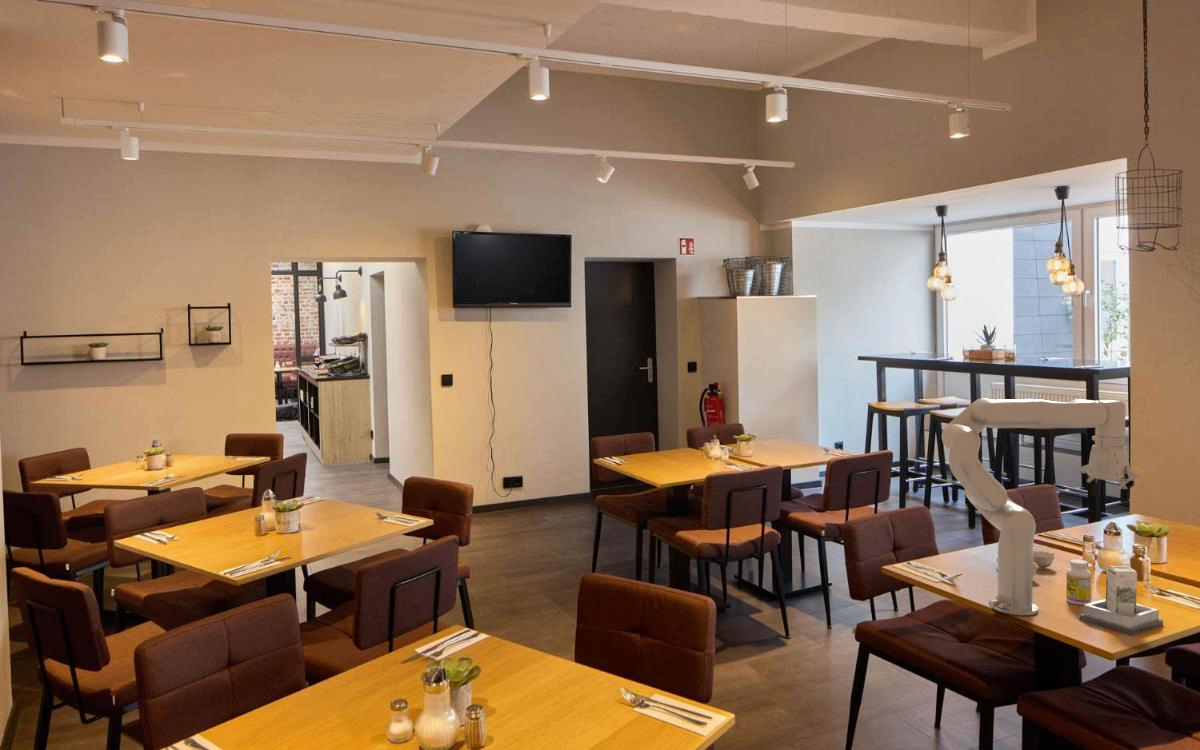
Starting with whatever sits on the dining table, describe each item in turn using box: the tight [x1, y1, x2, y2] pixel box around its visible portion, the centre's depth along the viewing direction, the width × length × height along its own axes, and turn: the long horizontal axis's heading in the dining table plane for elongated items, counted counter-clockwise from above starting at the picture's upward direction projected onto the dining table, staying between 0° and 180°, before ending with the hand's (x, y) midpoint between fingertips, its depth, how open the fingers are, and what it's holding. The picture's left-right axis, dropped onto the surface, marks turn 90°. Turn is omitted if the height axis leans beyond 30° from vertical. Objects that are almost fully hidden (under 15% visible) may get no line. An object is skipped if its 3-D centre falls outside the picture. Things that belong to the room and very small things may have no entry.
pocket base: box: [1079, 598, 1164, 636], centre depth 246 cm, size 15×15×4 cm
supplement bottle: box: [1065, 558, 1092, 606], centre depth 264 cm, size 7×7×13 cm
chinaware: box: [996, 550, 1057, 577], centre depth 296 cm, size 28×17×17 cm, turn 141°
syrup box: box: [1105, 565, 1138, 616], centre depth 245 cm, size 6×6×14 cm
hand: (1108, 498), depth 254 cm, fingers open, 9 cm apart
